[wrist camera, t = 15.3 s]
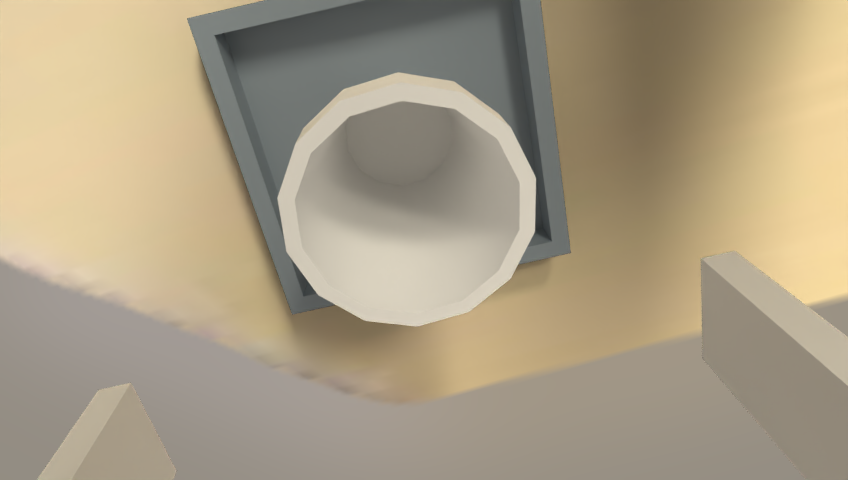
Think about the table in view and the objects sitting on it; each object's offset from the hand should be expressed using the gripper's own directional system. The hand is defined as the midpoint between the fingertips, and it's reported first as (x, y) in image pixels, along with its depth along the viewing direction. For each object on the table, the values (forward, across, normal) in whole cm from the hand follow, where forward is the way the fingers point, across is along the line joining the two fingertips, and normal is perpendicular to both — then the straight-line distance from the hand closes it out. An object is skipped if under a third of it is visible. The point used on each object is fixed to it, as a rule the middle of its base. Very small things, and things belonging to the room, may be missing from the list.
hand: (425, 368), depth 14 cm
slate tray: (+23, 0, 0) cm, 23 cm away
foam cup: (+22, 0, 0) cm, 22 cm away
